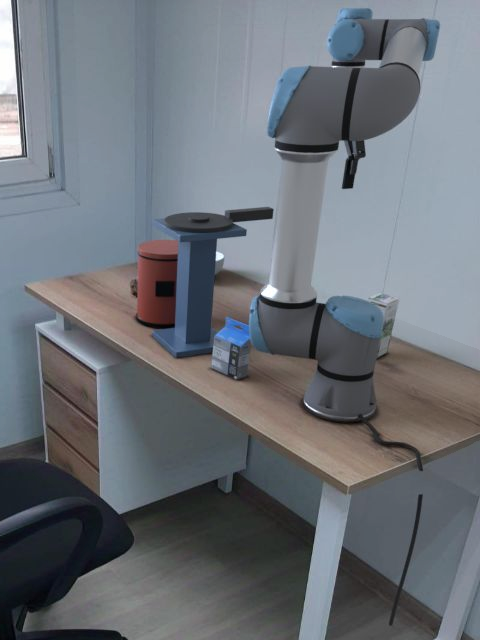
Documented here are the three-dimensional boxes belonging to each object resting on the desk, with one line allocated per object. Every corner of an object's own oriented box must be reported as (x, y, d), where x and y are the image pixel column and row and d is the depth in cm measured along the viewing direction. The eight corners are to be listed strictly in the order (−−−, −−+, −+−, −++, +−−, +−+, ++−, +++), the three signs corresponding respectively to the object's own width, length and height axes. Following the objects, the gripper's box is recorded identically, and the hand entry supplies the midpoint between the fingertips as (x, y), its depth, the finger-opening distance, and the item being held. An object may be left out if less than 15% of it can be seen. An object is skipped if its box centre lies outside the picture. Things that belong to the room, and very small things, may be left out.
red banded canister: (192, 329, 201) (196, 255, 190) (135, 328, 201) (135, 254, 191) (190, 309, 214) (194, 239, 203) (137, 308, 215) (138, 238, 204)
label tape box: (210, 368, 179) (213, 319, 172) (222, 364, 181) (226, 316, 174) (236, 380, 173) (240, 330, 166) (248, 376, 175) (253, 326, 168)
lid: (180, 235, 168) (181, 224, 167) (153, 219, 181) (154, 209, 180) (287, 225, 176) (288, 214, 175) (254, 210, 189) (254, 201, 188)
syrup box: (367, 347, 190) (377, 291, 182) (388, 353, 186) (400, 297, 179) (355, 353, 187) (365, 297, 179) (376, 359, 183) (388, 302, 175)
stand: (207, 327, 202) (214, 213, 186) (236, 350, 188) (246, 229, 172) (149, 335, 197) (152, 219, 181) (175, 359, 184) (180, 235, 168)
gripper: (392, 90, 163) (374, 191, 174) (328, 81, 183) (316, 173, 194) (363, 91, 161) (347, 194, 172) (302, 82, 180) (291, 175, 192)
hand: (331, 183), depth 183 cm, fingers open, 13 cm apart
